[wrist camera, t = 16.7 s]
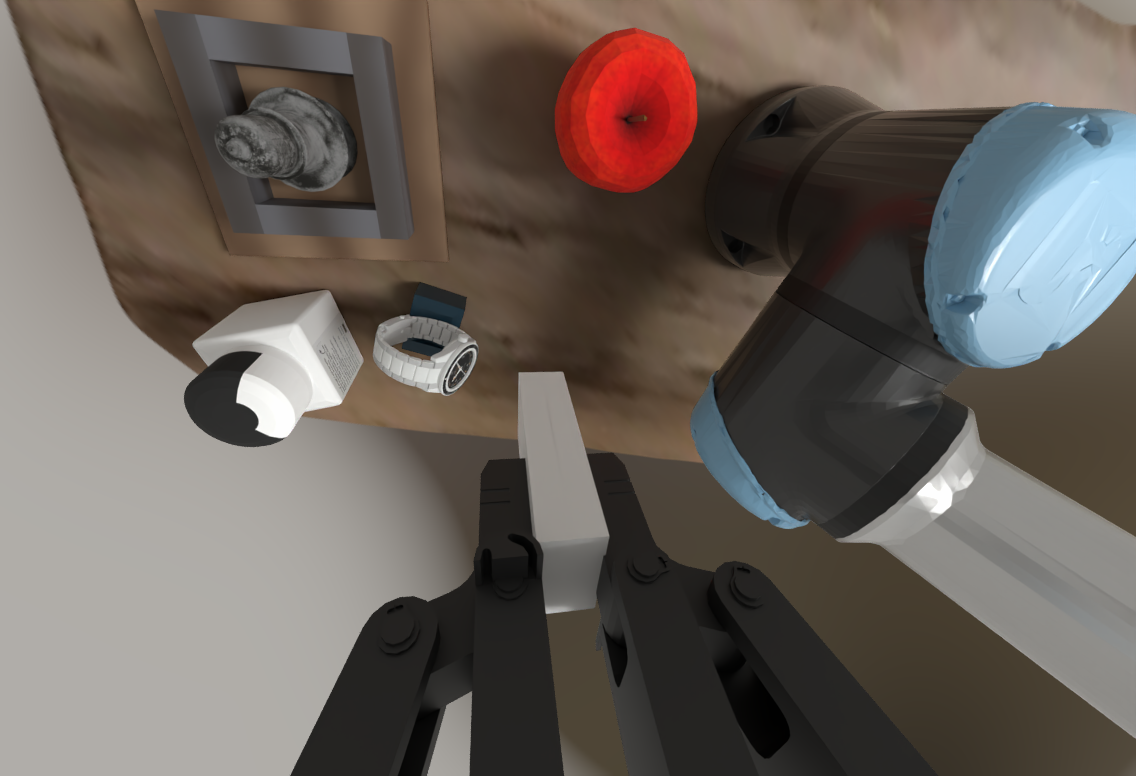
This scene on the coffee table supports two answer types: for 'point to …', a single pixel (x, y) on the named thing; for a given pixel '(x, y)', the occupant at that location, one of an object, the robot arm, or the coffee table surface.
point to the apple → (626, 111)
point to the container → (271, 368)
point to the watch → (428, 343)
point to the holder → (335, 75)
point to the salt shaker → (289, 140)
